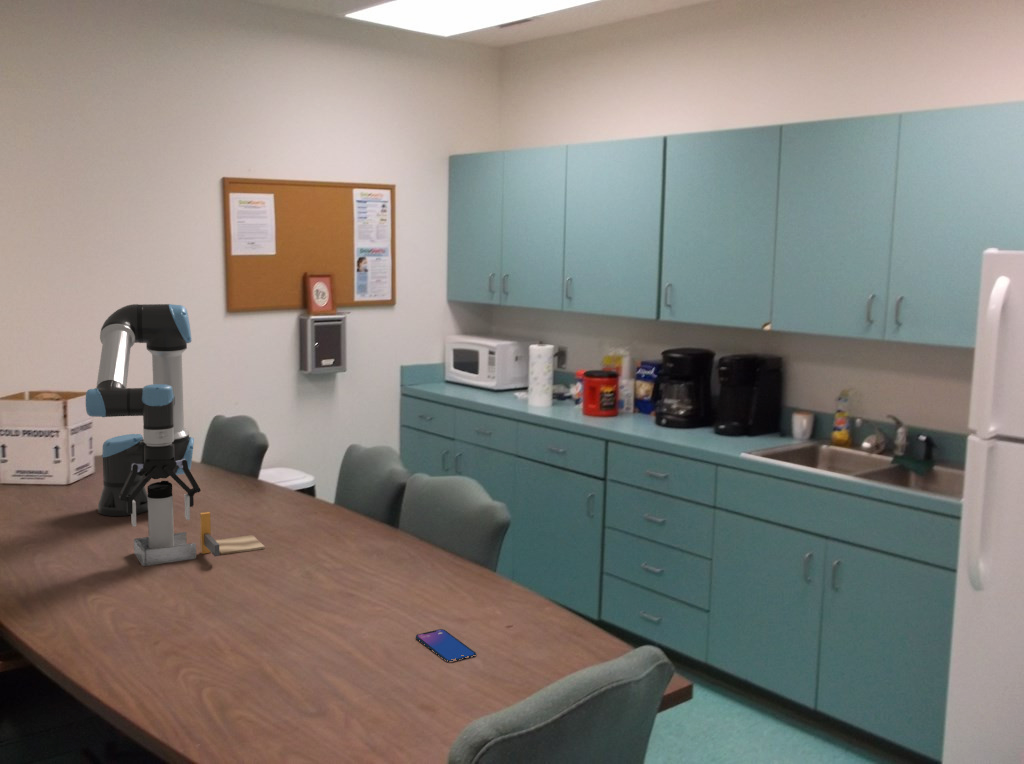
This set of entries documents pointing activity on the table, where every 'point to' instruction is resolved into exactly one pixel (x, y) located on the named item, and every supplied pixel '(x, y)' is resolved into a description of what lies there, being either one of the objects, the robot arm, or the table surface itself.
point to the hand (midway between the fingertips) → (161, 522)
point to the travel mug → (160, 515)
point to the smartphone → (445, 645)
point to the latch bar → (207, 536)
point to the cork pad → (239, 544)
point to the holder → (164, 551)
